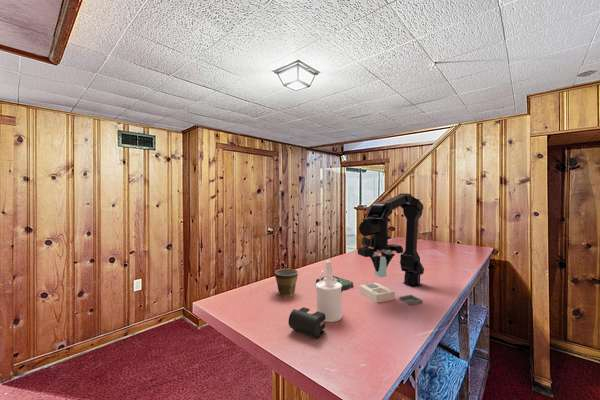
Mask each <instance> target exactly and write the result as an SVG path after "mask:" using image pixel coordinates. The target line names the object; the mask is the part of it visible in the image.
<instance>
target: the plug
mask: <svg viewBox="0 0 600 400" xmlns="http://www.w3.org/2000/svg"><path fill="white" fill-rule="evenodd" d="M379 256H380V264H379V270H378V272H377V271H376V270H375V269H374V276H376V277H378V278H384V277H385V278H386V277H387V268H386V259H385V257H384V256H382V255H379Z"/></svg>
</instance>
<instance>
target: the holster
mask: <svg viewBox="0 0 600 400" xmlns="http://www.w3.org/2000/svg"><path fill="white" fill-rule="evenodd" d="M398 300H399V301H402V302H403V303H405V304H407V305H409V306H414V305H419V304H423V299H421V298H419V297H416V296H415V295H413V294H407V295H401V296H399V299H398Z"/></svg>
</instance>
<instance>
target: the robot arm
mask: <svg viewBox="0 0 600 400" xmlns="http://www.w3.org/2000/svg"><path fill="white" fill-rule="evenodd" d="M399 207H400V208H402V213H403V214H402V215H404V218H405V220H406V226H405V227H406V229H405V248H403V246H402V245H399V244H396V243H391V244H390V243H389V240H390V239H391V236H390V235H389V229H388V228H389V222H391V220H392V219H390V218H389V216H391V215H392V214H393V211H394V210H395V209H397V208H399ZM423 210H424V204H423V202H421V200H420V199H418V198H416V197H414V196H413V195H412V194H410V193H407V192H406V193H399V194H397V195H394V196H393V197H391V198H390V199H387V200H385V201H376V202H375V201H374V202H373V203H371V206H370V207H369V210H368V212H367V215H366V217H365V218H364V217H363V219H362V221H361V222H360V223H359V226H358V231H359V233H360V234H361V235H362V236H364V237H362V238H361V246H362V247H361V246H360V247H358V248H357V255H359V256H362V257H364V258H370V259H371V261H372V264H373V267H374V271H375V270H376V271H377V272H378V270H379V264H380V256H384V257H385V259H386V269H388V266H389V264H390V262H391V261H392V259H393V258H394V256H396V254H400V260H399V265H400V269H401V271H402V272H404V277H403V278H404V279H403V280H404V281H403V282H402V284H404V285H405V286H408V287H410V288H417V287H423V284H422V283H421V276H422V275H424V273H425V268H424V266H423V265H422V263H421V257H420V255H419V253H418V250H417V248H418V232H419V231H418V229H419V228H418V227H419V219H421V217H422V215H423ZM367 236H370V238H368V237H367ZM404 249H405V250H404ZM394 252H395V253H396V254H394ZM379 254H380V255H379Z"/></svg>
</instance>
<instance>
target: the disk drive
mask: <svg viewBox="0 0 600 400" xmlns="http://www.w3.org/2000/svg"><path fill="white" fill-rule="evenodd" d="M324 277H326V276H325V275H324V276H321V281H322V280H323V279H324ZM332 277H334V278H337V282H339V283H341V284H342V288H341V292H343V291H346V290H348V289H351V288H353V287H354V282H353V281H351V280H348V279H346V278H345V279H344V278H340V277H338V276H335V275H332ZM323 281H325V279H324V280H323ZM333 281H334V279H333ZM318 282H320V279H319V278H317V279H315V284H316V283H318Z"/></svg>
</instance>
